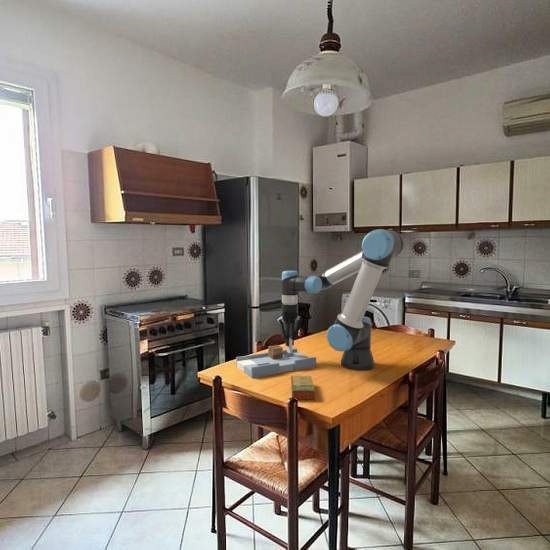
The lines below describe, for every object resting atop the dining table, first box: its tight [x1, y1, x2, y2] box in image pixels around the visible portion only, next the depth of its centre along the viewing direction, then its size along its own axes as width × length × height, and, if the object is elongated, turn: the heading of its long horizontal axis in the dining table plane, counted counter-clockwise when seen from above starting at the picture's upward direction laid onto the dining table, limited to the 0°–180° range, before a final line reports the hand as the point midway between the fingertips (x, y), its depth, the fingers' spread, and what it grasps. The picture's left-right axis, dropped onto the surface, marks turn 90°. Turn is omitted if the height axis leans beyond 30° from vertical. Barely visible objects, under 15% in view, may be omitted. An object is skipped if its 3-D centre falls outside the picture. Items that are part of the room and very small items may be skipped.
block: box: [267, 344, 284, 359], centre depth 187 cm, size 5×5×5 cm
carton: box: [290, 375, 316, 402], centre depth 151 cm, size 8×16×4 cm, turn 0°
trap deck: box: [235, 347, 317, 379], centre depth 183 cm, size 18×32×4 cm, turn 118°
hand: (289, 352), depth 190 cm, fingers closed
